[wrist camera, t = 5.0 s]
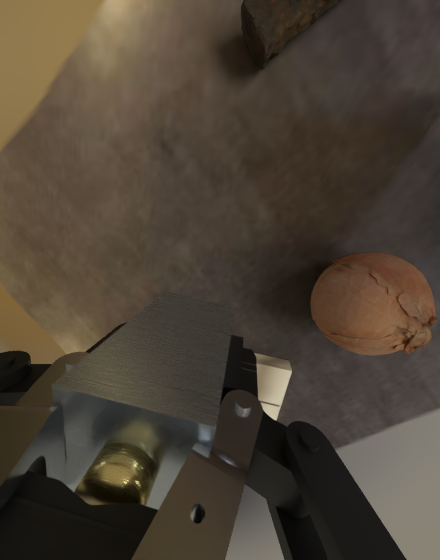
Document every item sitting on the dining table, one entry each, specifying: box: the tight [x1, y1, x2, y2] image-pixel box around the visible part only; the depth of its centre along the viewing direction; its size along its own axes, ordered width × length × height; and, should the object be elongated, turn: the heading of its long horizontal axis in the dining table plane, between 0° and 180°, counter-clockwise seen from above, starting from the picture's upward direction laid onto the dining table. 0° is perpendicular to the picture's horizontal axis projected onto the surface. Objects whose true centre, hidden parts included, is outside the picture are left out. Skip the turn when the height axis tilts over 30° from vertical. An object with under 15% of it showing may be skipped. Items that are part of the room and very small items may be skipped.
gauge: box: [52, 292, 236, 510], centre depth 9 cm, size 4×10×8 cm, turn 170°
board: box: [254, 353, 292, 420], centre depth 28 cm, size 19×9×2 cm, turn 80°
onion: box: [310, 252, 437, 355], centre depth 20 cm, size 10×9×10 cm
